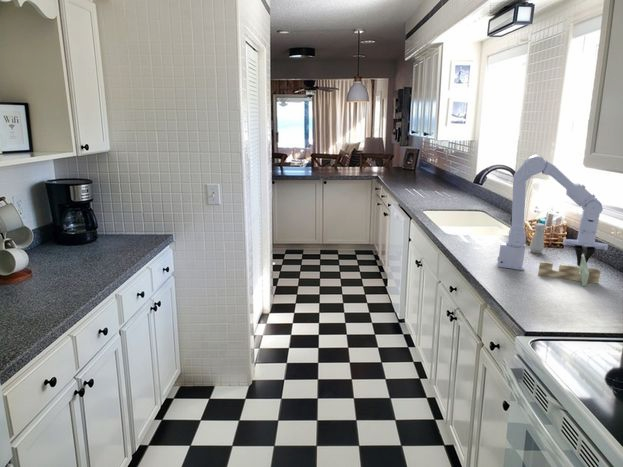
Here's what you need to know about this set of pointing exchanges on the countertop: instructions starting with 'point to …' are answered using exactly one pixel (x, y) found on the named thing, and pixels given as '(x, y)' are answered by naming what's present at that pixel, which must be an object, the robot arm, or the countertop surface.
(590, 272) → the maple slat
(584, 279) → the green plate
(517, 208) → the robot arm
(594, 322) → the countertop surface
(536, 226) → the salt shaker
